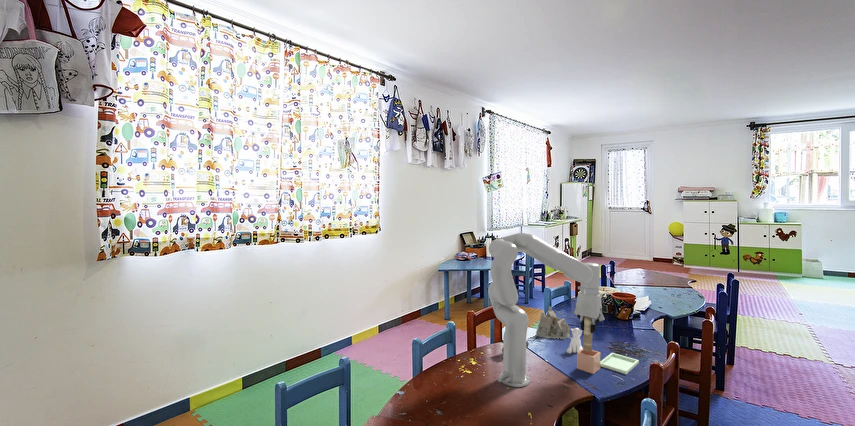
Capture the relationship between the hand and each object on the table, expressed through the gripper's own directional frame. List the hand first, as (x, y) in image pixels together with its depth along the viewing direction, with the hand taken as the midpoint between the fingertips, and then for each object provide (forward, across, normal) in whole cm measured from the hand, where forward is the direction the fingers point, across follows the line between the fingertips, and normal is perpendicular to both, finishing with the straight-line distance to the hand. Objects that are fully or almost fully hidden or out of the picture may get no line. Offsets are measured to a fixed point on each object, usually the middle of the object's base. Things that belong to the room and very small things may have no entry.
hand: (588, 330), depth 171 cm
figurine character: (+19, -34, -7) cm, 39 cm away
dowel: (+9, 0, 0) cm, 9 cm away
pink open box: (+18, 0, +1) cm, 18 cm away
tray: (+18, +8, +15) cm, 25 cm away
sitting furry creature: (+18, -12, +16) cm, 27 cm away
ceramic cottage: (+18, -32, +29) cm, 47 cm away
